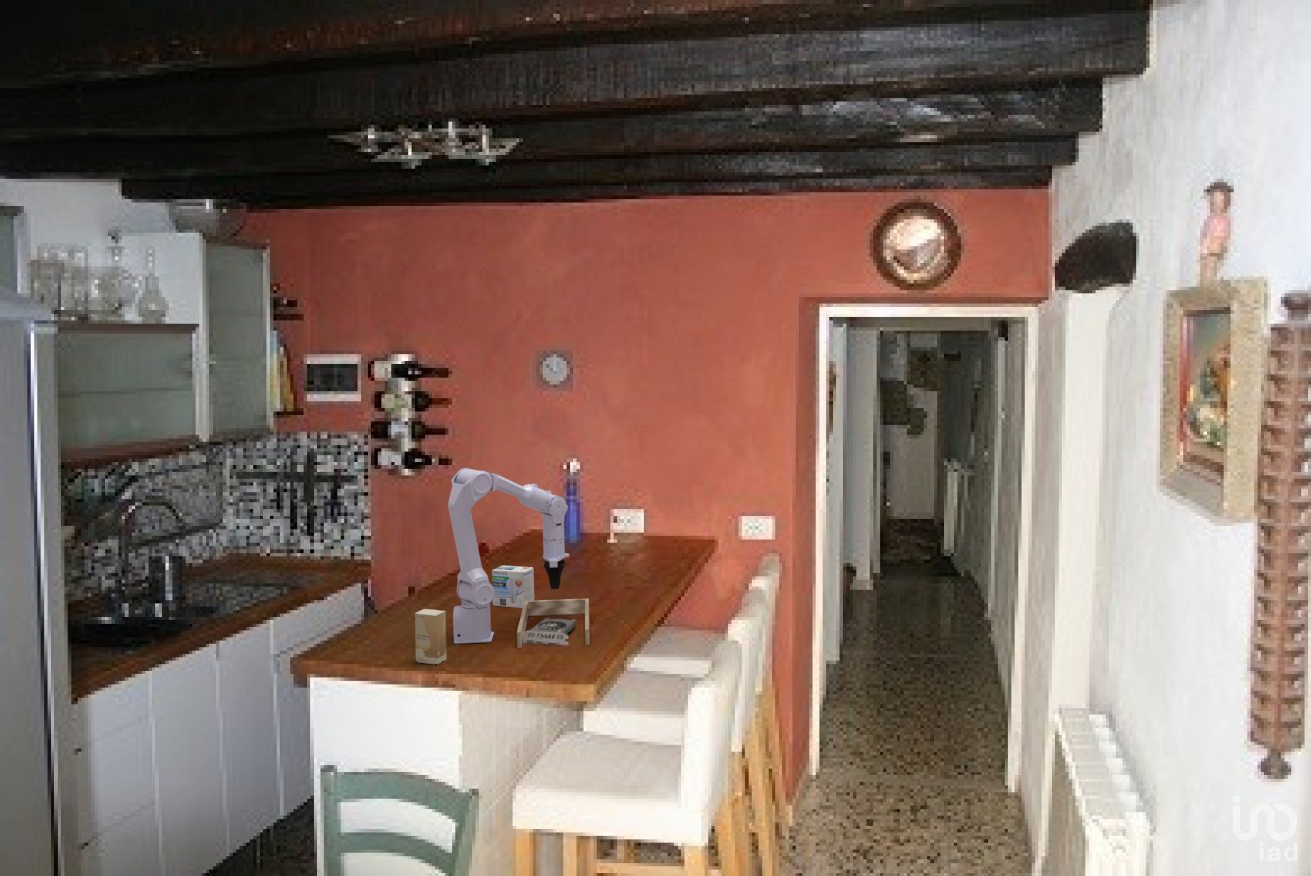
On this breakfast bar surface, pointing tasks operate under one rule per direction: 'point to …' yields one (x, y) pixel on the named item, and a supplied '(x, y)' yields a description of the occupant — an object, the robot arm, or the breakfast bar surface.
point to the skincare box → (430, 636)
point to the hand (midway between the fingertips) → (555, 587)
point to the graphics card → (549, 632)
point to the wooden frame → (553, 613)
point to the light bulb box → (512, 586)
